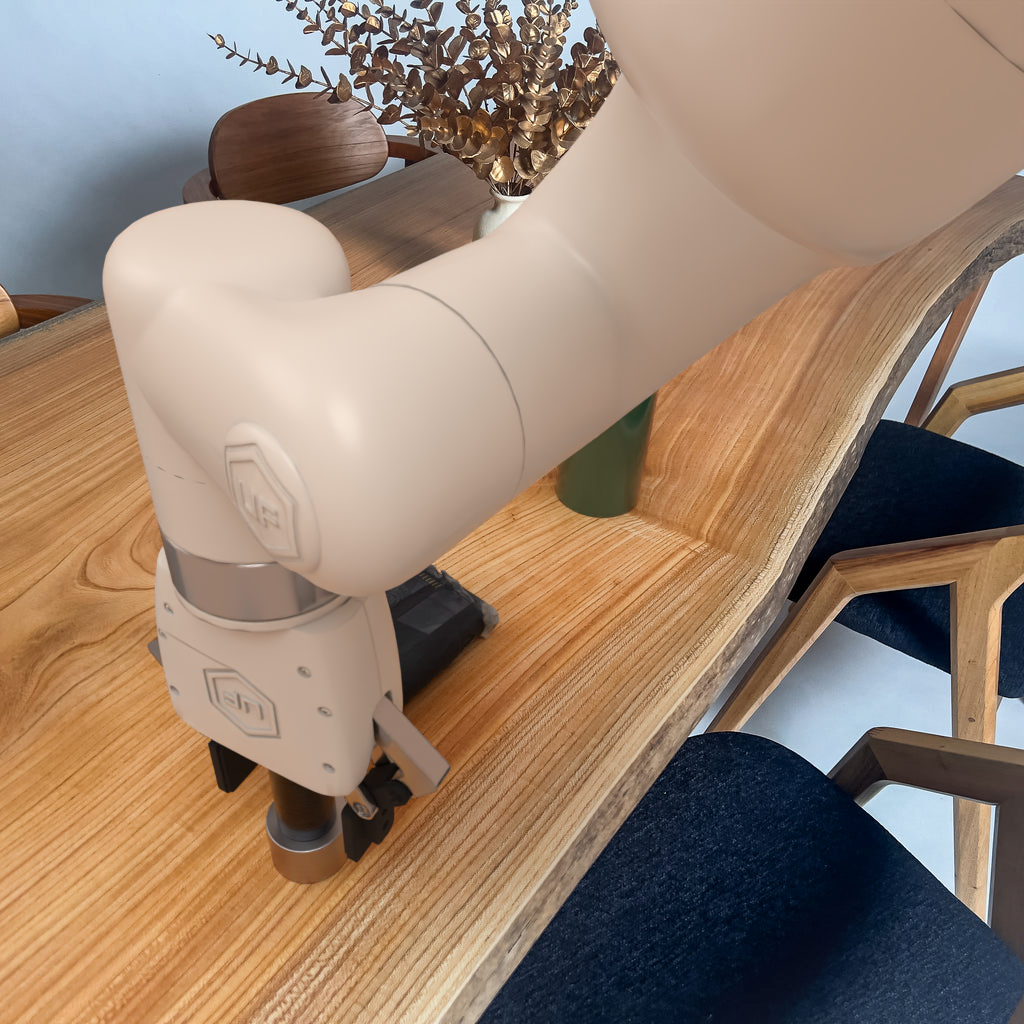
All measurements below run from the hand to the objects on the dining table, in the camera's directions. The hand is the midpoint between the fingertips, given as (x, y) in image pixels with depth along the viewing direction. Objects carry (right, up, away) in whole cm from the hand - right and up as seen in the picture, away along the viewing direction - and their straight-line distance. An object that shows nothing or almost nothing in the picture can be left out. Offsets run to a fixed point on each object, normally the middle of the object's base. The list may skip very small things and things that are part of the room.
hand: (305, 801), depth 46 cm
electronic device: (+1, +5, +13) cm, 14 cm away
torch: (0, -3, +3) cm, 4 cm away
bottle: (+18, +16, +29) cm, 38 cm away
